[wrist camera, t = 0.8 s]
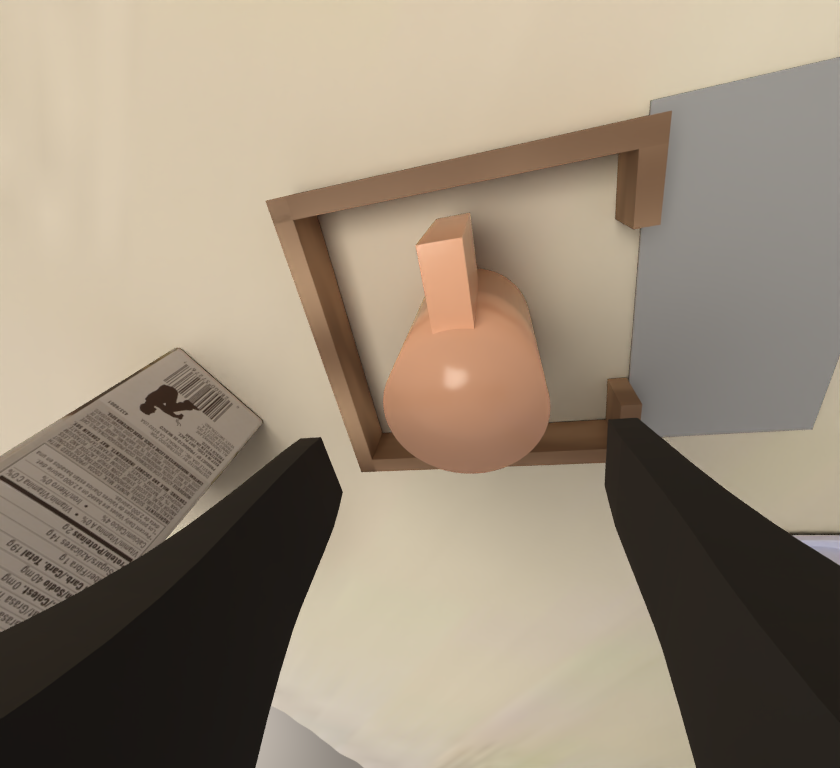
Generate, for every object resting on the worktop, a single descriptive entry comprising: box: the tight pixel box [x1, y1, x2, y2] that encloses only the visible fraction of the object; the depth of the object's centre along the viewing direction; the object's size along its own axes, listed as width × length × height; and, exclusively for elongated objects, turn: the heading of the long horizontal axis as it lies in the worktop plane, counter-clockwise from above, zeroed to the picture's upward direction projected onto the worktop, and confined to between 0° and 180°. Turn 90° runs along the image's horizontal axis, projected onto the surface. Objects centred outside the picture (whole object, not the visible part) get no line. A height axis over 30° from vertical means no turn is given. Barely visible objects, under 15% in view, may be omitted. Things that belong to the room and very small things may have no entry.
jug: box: [383, 213, 550, 473], centre depth 14 cm, size 7×5×7 cm
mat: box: [629, 57, 840, 437], centre depth 15 cm, size 14×8×1 cm, turn 11°
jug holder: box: [266, 111, 672, 472], centre depth 17 cm, size 13×13×2 cm
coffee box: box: [0, 348, 262, 632], centre depth 17 cm, size 9×6×16 cm
